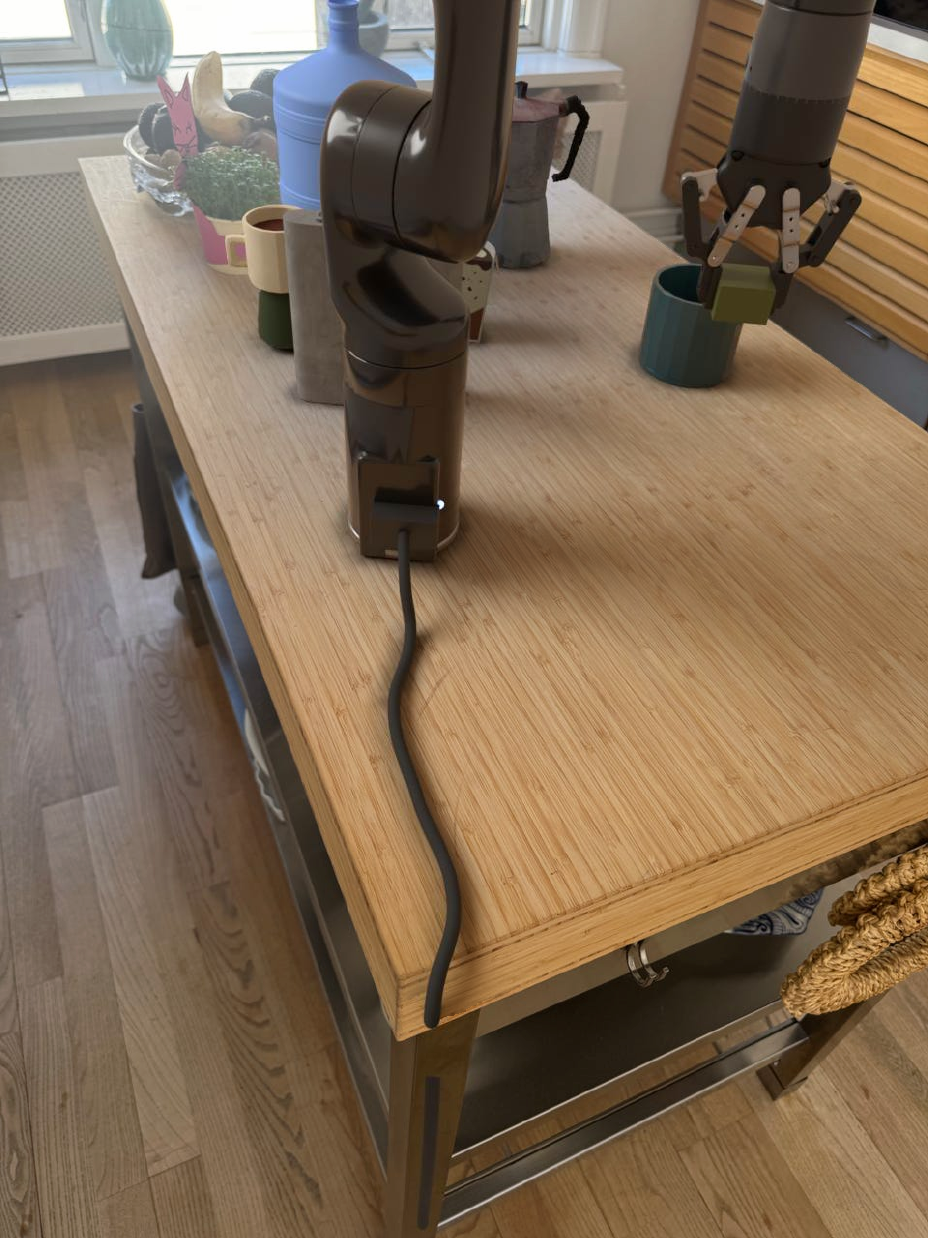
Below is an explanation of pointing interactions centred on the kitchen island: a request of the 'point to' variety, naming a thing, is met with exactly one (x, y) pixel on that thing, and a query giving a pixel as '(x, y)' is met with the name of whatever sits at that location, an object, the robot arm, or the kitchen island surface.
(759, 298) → the olive green cube
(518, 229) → the moka pot
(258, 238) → the character mug
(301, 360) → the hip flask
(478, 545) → the kitchen island surface
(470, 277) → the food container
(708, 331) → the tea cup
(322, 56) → the water jug
